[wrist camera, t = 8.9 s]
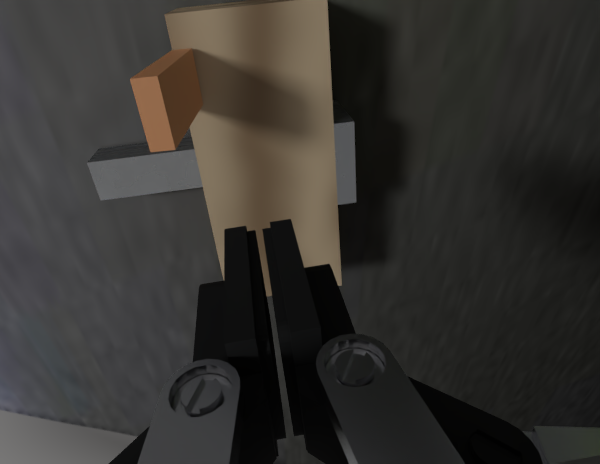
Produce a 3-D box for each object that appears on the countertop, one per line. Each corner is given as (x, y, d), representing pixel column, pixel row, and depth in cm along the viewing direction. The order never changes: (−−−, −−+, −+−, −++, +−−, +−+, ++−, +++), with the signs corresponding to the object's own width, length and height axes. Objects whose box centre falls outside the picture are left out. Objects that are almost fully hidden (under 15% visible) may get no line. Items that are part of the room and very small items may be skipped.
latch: (157, 75, 16) (129, 78, 16) (175, 149, 17) (150, 152, 17) (191, 48, 22) (172, 50, 22) (203, 104, 23) (184, 106, 23)
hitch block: (311, -6, 26) (327, -3, 21) (328, 245, 35) (341, 285, 31) (177, 8, 26) (164, 14, 21) (229, 259, 35) (228, 302, 30)
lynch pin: (336, 99, 29) (354, 121, 25) (339, 171, 32) (356, 202, 27) (92, 129, 28) (64, 157, 24) (116, 200, 31) (95, 238, 26)
